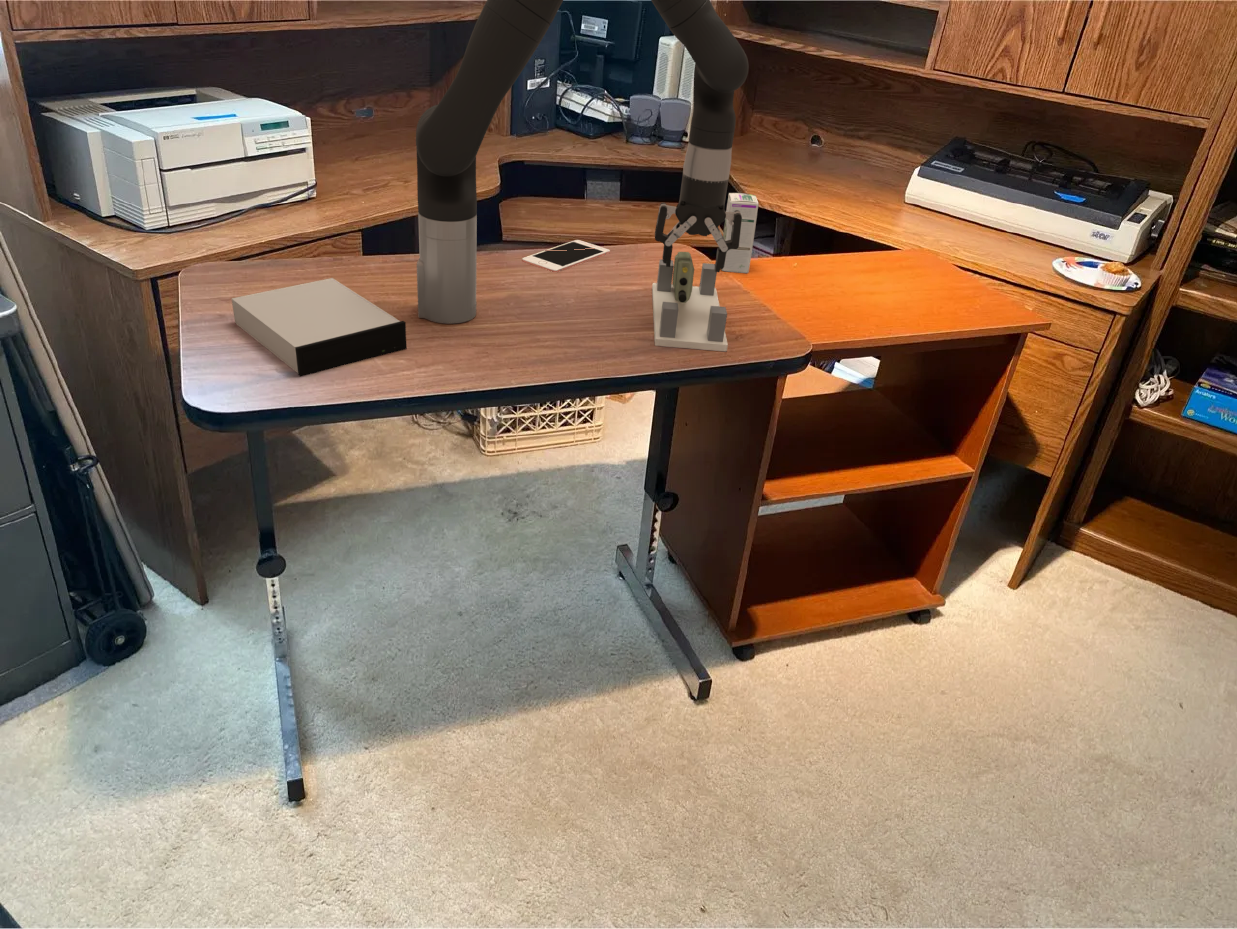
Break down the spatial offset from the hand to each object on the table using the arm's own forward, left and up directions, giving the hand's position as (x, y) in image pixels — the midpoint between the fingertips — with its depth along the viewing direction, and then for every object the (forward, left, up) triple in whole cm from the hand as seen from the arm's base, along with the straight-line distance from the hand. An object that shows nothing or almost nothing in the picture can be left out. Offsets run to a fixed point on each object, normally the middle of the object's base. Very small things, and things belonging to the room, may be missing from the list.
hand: (692, 268), depth 159 cm
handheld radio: (-1, 0, -5) cm, 5 cm away
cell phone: (-23, +27, -10) cm, 37 cm away
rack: (0, 0, -9) cm, 9 cm away
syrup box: (+11, +29, -9) cm, 33 cm away
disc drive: (-59, -20, -10) cm, 63 cm away
